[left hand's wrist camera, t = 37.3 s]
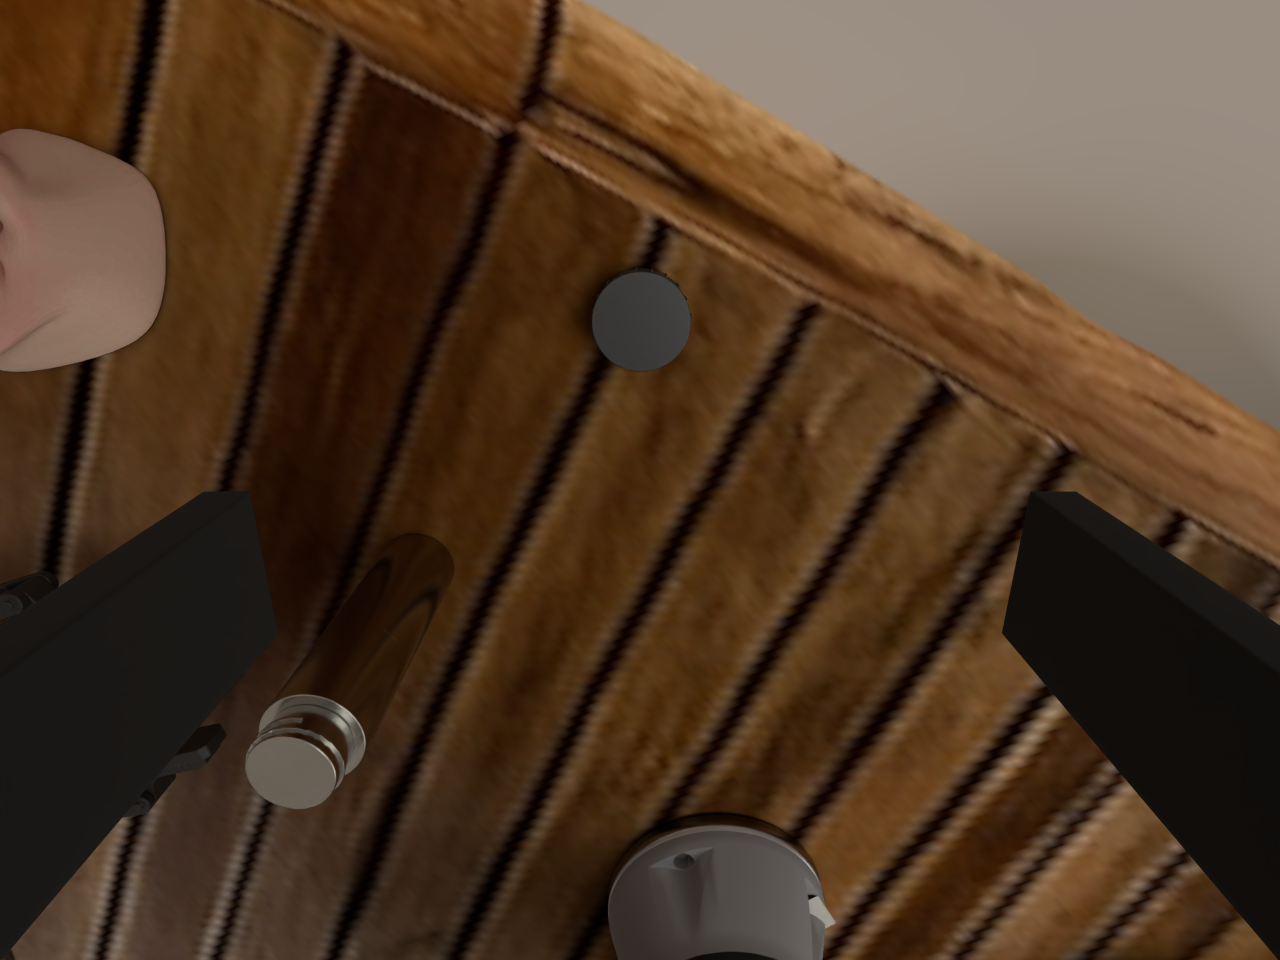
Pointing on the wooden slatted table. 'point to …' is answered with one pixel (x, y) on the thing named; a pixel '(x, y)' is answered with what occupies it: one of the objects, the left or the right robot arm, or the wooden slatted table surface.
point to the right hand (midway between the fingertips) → (180, 676)
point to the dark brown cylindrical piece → (349, 677)
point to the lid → (641, 320)
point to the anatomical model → (74, 252)
